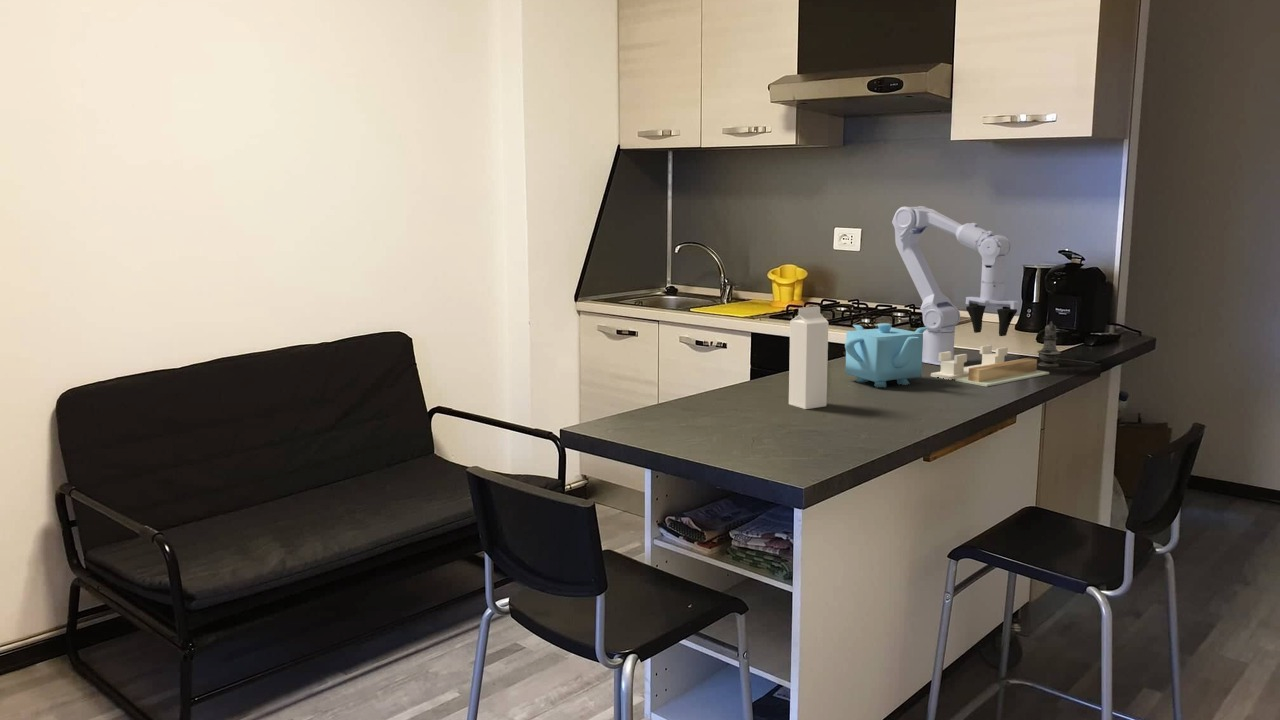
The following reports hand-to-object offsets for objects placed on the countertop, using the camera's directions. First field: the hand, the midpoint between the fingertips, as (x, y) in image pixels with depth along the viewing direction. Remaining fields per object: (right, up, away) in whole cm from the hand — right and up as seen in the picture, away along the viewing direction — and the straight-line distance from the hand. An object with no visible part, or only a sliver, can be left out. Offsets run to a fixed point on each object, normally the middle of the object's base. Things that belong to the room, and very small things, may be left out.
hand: (989, 334), depth 253 cm
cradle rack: (-5, -10, -2) cm, 11 cm away
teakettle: (-31, -13, -13) cm, 36 cm away
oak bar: (0, -11, -9) cm, 14 cm away
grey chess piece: (+18, -8, +7) cm, 21 cm away
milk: (-55, -17, -38) cm, 69 cm away
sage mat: (0, -11, -9) cm, 15 cm away
